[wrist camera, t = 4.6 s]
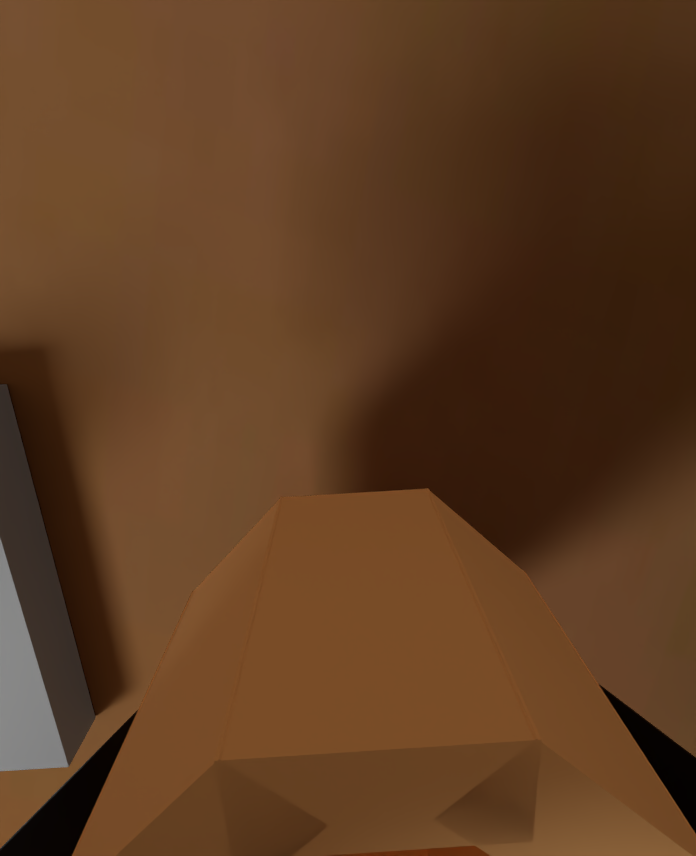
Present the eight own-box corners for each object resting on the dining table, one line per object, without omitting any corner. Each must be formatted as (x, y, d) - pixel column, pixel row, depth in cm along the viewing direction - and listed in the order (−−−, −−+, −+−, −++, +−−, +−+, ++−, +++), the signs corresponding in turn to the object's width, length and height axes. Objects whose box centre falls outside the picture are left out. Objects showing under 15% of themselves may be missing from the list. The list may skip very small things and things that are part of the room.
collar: (531, 481, 9) (765, 723, 4) (514, 749, 11) (659, 1131, 6) (175, 502, 9) (-16, 774, 4) (222, 768, 11) (130, 1169, 6)
